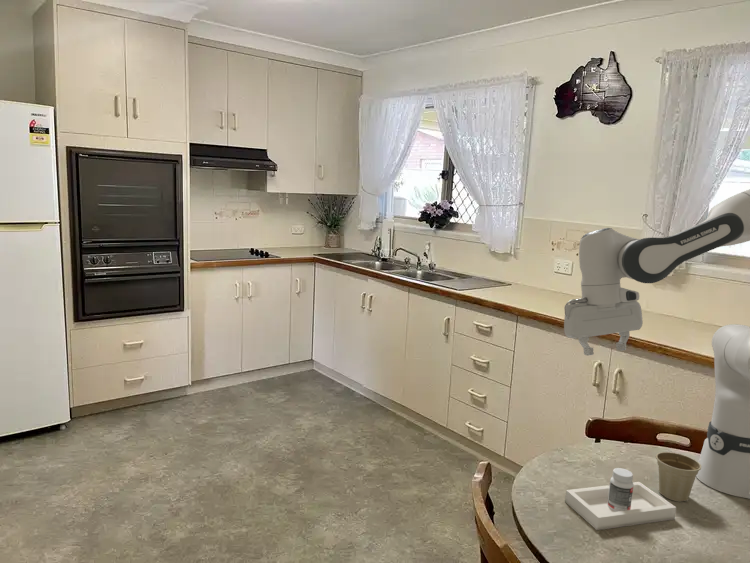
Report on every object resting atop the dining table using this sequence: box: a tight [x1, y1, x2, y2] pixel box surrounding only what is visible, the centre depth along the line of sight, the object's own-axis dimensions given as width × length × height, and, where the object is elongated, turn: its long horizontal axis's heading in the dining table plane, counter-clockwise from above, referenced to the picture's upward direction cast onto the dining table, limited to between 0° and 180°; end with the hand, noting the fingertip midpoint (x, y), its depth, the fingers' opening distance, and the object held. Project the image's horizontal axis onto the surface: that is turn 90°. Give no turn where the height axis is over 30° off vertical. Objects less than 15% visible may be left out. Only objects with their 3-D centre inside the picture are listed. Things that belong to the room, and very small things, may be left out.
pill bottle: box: [607, 467, 634, 512], centre depth 122 cm, size 5×5×8 cm
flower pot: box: [655, 451, 701, 503], centre depth 130 cm, size 9×9×9 cm
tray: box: [564, 481, 677, 531], centre depth 123 cm, size 20×11×3 cm, turn 106°
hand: (605, 352), depth 135 cm, fingers open, 8 cm apart
